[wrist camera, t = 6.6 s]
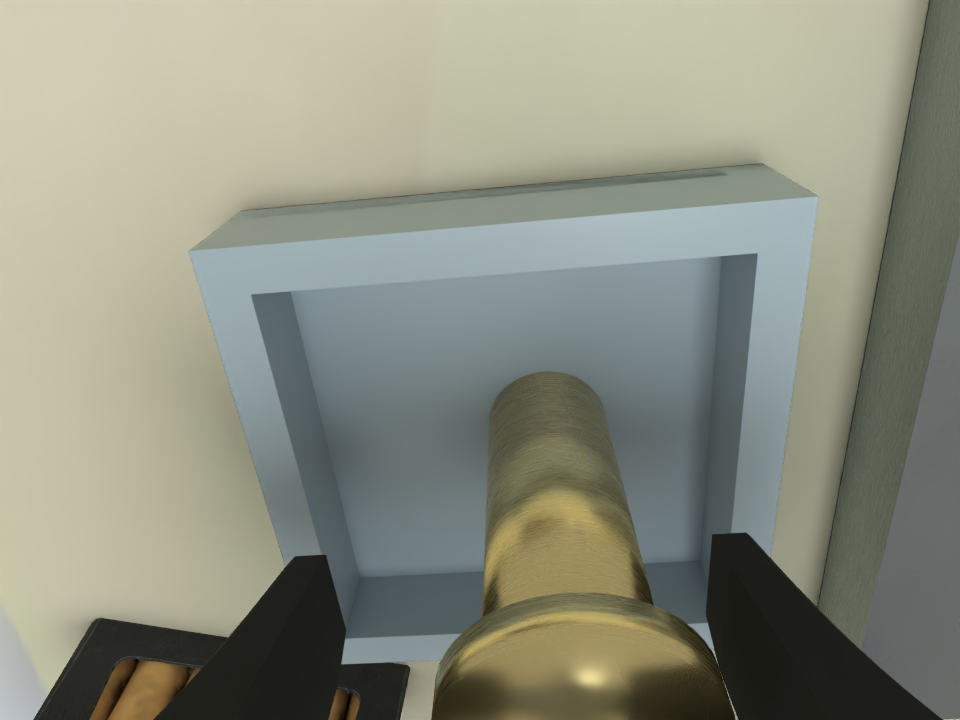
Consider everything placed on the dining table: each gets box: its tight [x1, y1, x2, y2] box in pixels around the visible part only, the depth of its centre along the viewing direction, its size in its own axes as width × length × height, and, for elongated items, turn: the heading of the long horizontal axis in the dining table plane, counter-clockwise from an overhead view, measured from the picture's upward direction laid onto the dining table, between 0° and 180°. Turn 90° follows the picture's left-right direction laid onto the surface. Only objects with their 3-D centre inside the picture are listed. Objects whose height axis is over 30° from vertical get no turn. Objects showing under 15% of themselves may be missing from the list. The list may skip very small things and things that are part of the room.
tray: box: [189, 164, 819, 664], centre depth 17 cm, size 12×12×3 cm
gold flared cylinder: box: [431, 371, 735, 720], centre depth 14 cm, size 4×4×9 cm
